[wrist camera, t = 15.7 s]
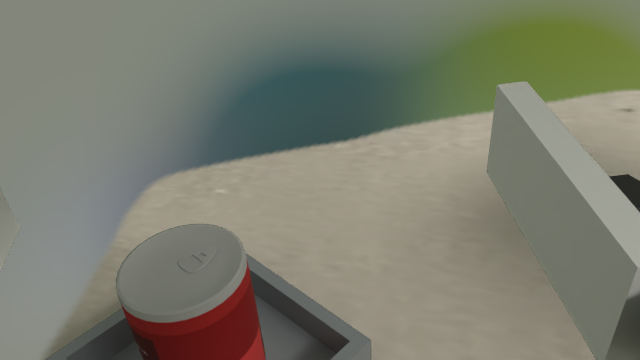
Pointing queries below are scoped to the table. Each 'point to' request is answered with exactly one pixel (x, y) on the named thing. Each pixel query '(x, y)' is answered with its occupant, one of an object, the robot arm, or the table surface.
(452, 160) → the table surface
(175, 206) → the table surface
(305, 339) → the tray
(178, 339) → the canned food
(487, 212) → the table surface
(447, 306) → the table surface
